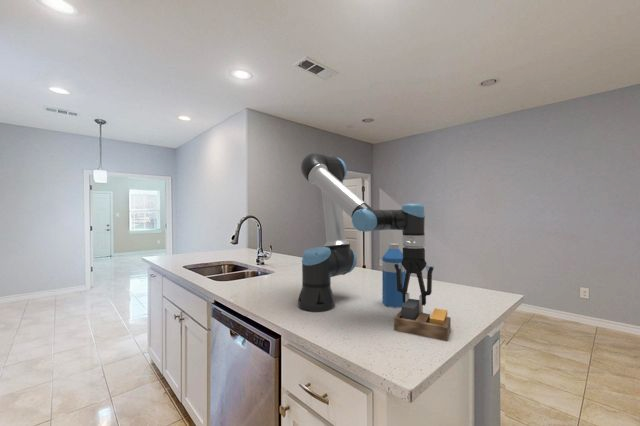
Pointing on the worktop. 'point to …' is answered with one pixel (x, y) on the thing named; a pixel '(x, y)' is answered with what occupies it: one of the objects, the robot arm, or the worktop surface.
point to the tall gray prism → (410, 309)
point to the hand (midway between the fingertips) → (414, 312)
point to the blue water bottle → (392, 277)
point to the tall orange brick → (438, 316)
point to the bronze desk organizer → (423, 326)
